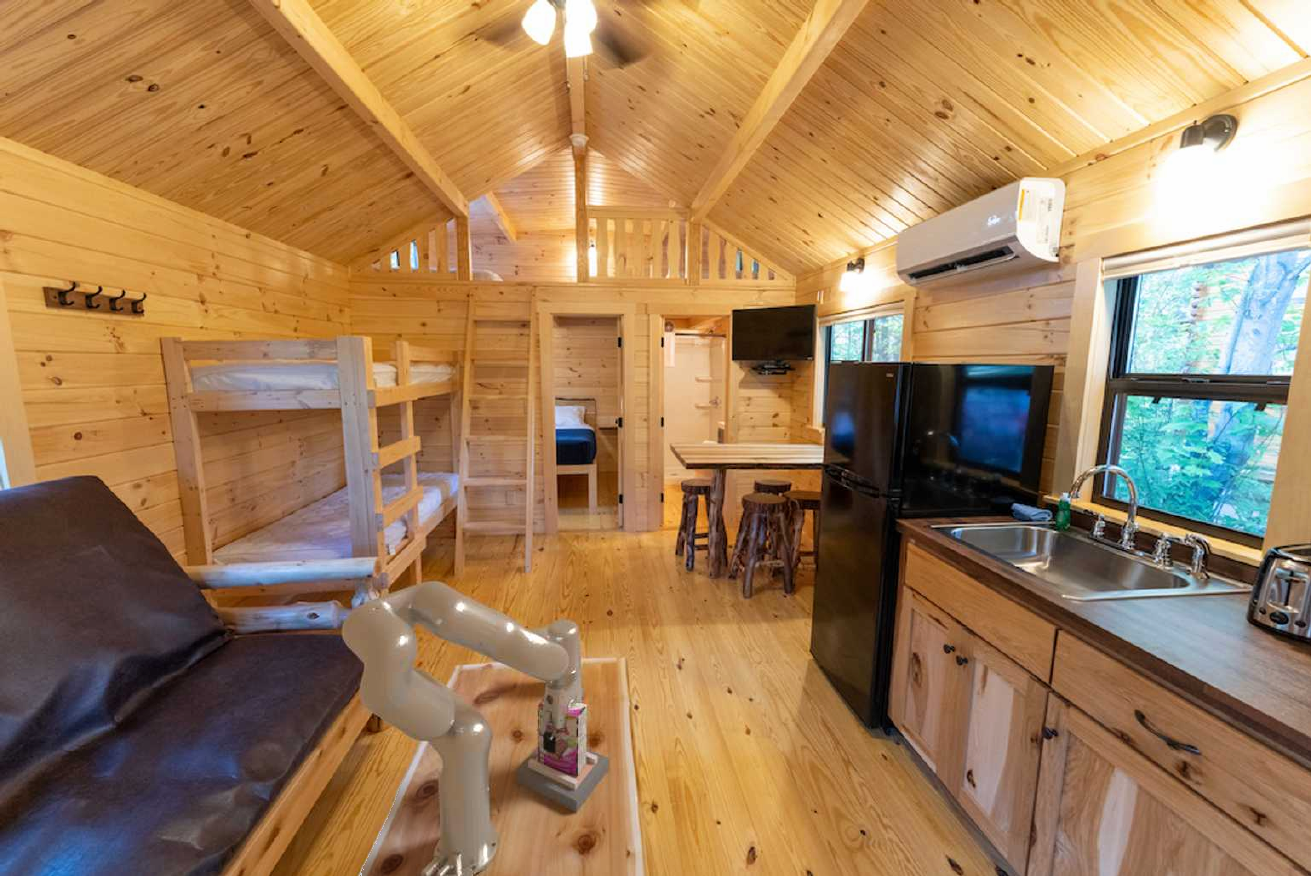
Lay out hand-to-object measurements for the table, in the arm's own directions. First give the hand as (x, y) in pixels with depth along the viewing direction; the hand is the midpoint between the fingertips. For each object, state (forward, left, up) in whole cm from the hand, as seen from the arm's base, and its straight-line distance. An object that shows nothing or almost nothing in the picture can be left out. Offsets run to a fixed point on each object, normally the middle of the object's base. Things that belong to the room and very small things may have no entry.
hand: (562, 737), depth 123 cm
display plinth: (0, 0, -11) cm, 11 cm away
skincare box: (+27, +19, -11) cm, 35 cm away
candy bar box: (0, 0, -8) cm, 8 cm away
